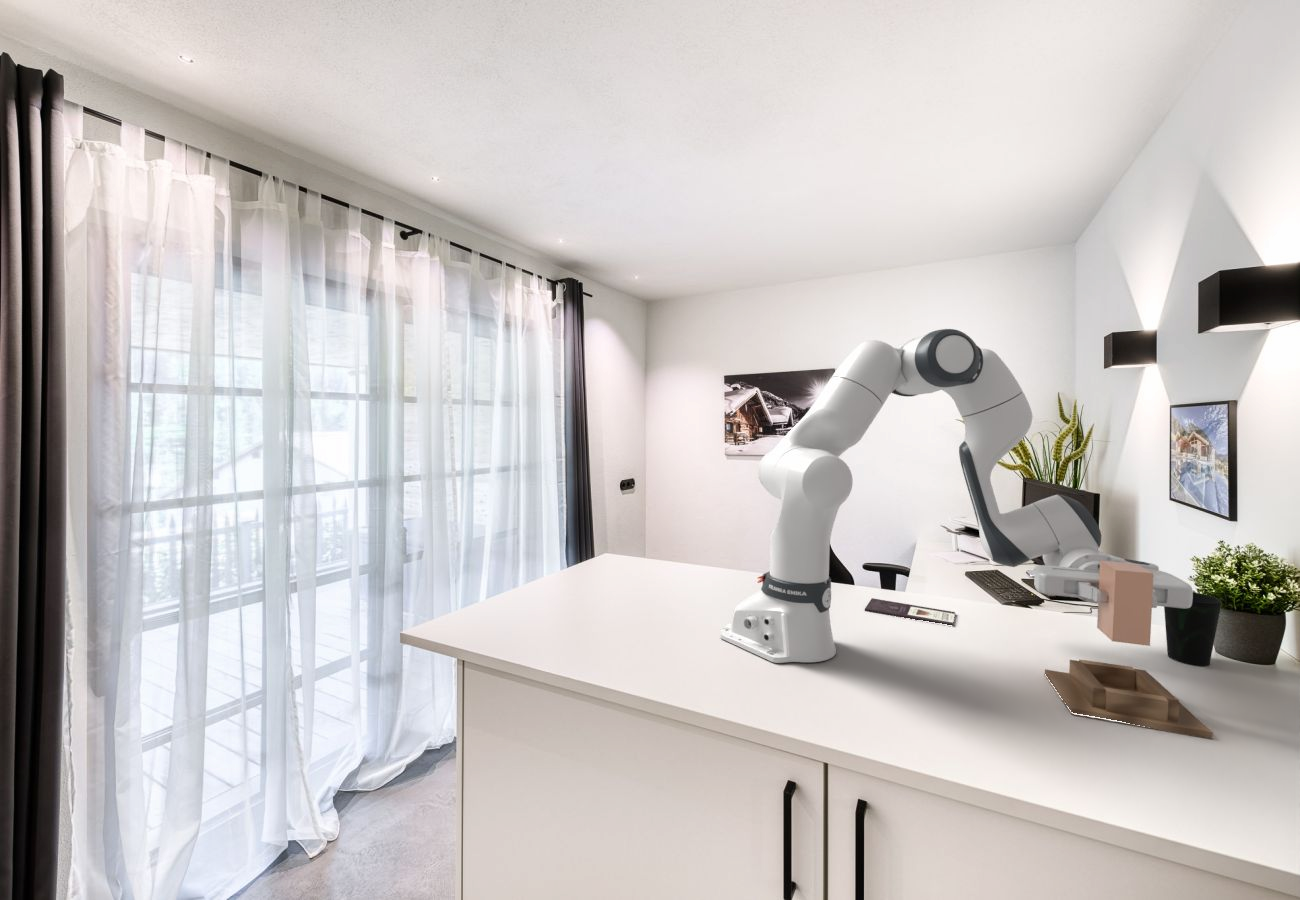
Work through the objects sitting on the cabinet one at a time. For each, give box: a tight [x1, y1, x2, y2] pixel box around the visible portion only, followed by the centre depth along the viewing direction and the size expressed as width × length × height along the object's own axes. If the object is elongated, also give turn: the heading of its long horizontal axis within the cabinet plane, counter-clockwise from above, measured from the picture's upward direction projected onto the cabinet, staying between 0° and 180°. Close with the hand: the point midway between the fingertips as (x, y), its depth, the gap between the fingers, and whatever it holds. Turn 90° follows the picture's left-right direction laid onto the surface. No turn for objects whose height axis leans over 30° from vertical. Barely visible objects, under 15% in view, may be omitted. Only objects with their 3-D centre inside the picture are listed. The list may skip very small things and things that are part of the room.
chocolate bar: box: [864, 597, 956, 626], centre depth 125 cm, size 9×1×18 cm
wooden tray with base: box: [1044, 659, 1214, 740], centre depth 85 cm, size 16×14×4 cm
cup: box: [1163, 591, 1223, 667], centre depth 100 cm, size 8×8×12 cm
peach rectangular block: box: [1096, 561, 1153, 646], centre depth 84 cm, size 4×6×11 cm
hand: (1126, 599), depth 83 cm, fingers closed on peach rectangular block, 4 cm apart
